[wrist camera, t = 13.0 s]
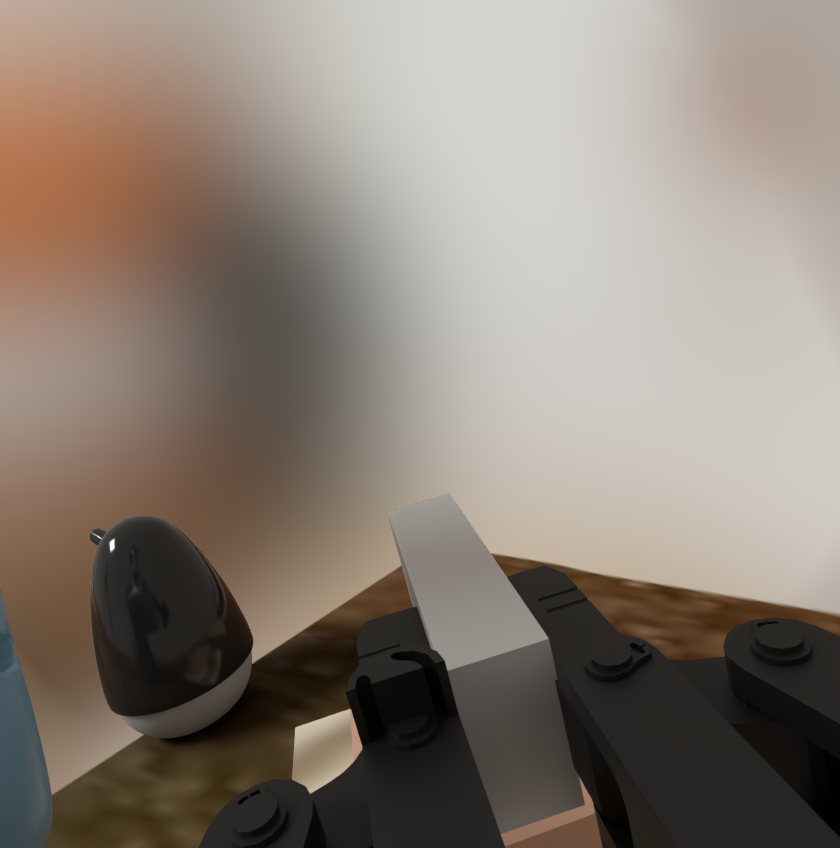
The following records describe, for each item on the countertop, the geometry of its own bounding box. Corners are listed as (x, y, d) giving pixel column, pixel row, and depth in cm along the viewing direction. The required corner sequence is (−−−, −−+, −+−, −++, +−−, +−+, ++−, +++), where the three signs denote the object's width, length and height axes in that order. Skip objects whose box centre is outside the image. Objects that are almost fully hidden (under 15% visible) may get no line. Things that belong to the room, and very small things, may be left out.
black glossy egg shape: (211, 660, 54) (149, 491, 51) (296, 677, 48) (232, 486, 45) (96, 745, 46) (16, 551, 43) (181, 779, 40) (94, 555, 37)
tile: (603, 810, 26) (515, 657, 38) (363, 898, 25) (350, 713, 37) (613, 853, 26) (523, 689, 38) (379, 942, 25) (360, 745, 37)
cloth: (817, 985, 21) (813, 966, 21) (274, 1209, 19) (266, 1190, 19) (565, 647, 42) (563, 637, 42) (299, 738, 41) (295, 727, 40)
